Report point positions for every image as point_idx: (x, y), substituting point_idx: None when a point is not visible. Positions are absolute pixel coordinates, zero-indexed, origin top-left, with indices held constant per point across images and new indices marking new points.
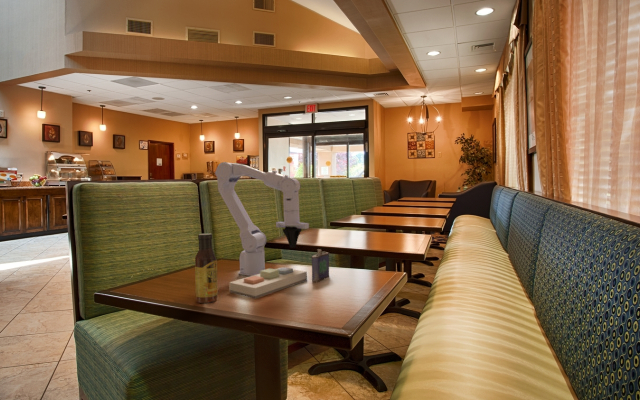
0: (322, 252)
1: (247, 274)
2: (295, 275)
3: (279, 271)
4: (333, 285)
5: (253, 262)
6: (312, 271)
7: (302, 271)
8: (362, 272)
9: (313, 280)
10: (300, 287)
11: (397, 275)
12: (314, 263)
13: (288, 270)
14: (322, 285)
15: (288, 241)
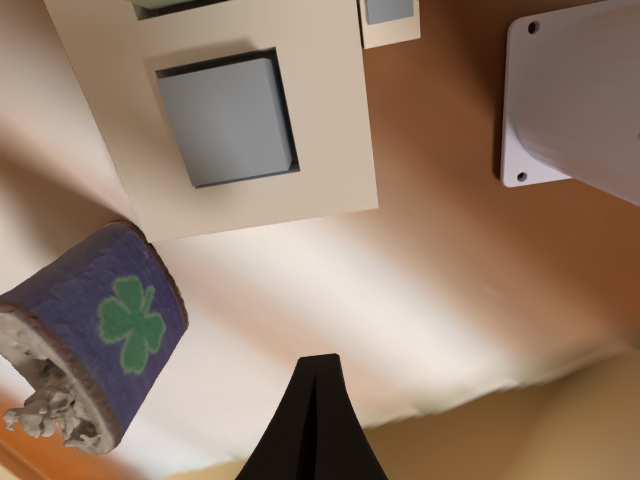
0: (65, 423)
1: (606, 2)
2: (99, 126)
3: (214, 68)
4: (6, 246)
5: (626, 30)
6: (84, 247)
7: (164, 225)
8: (142, 444)
9: (110, 223)
10: (58, 97)
11: (26, 474)
12: (25, 281)
13: (175, 132)
14: (34, 211)
15: (337, 404)
